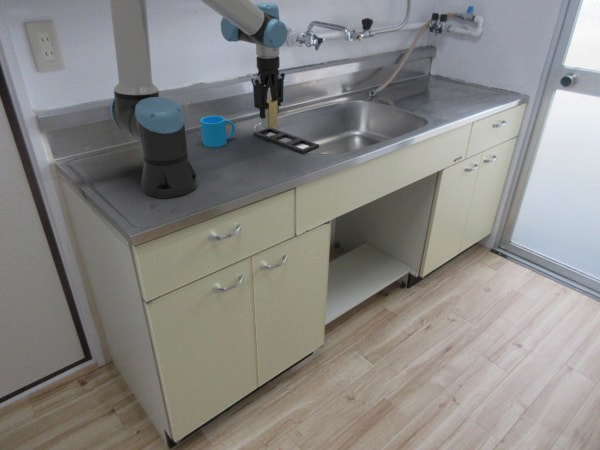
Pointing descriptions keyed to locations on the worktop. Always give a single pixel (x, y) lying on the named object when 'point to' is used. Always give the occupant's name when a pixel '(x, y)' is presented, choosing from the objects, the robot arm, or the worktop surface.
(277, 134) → the dark slotted tray
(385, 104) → the worktop surface
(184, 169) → the robot arm
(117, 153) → the worktop surface
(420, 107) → the worktop surface
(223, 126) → the mug
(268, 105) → the nut block
